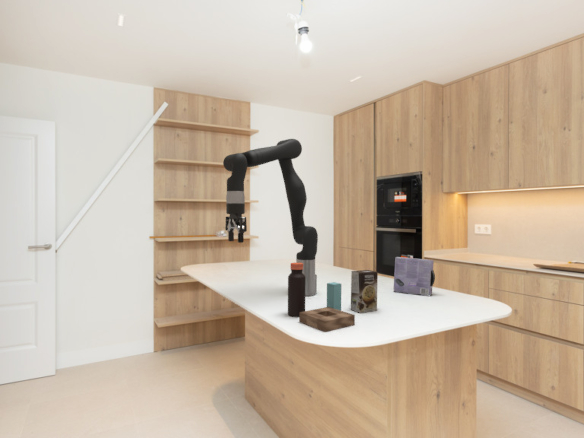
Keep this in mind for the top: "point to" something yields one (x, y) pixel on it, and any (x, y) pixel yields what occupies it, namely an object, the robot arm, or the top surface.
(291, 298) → the bottle
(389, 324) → the top surface
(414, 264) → the cake pan box
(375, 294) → the coffee box
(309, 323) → the socket block
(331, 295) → the peg
